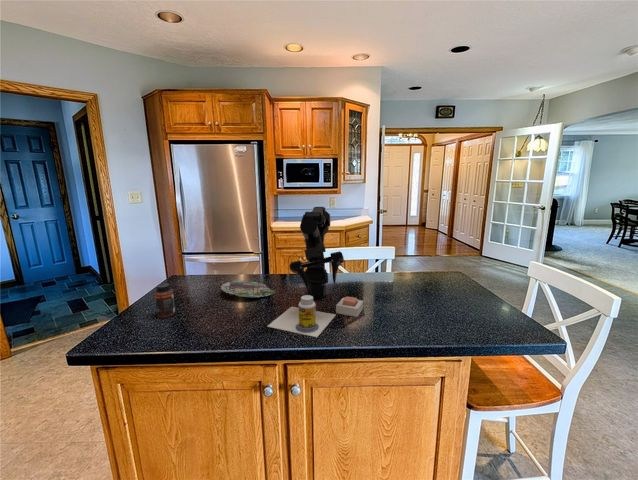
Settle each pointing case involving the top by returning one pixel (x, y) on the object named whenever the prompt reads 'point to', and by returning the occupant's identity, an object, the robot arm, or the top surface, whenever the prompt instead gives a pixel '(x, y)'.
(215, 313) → the top surface
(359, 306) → the button housing
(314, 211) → the robot arm
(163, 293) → the supplement bottle
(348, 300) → the button
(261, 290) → the city model
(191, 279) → the top surface
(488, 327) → the top surface
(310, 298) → the supplement bottle
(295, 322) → the drawing paper
